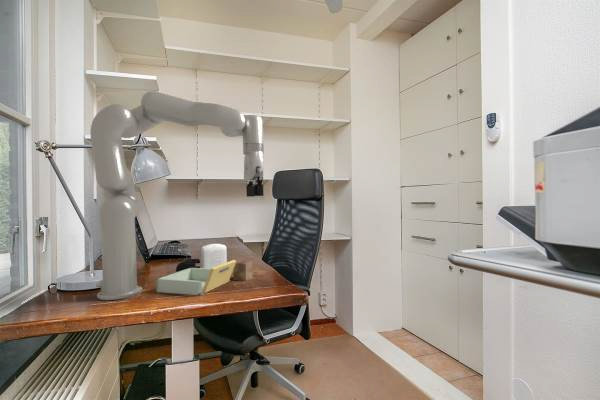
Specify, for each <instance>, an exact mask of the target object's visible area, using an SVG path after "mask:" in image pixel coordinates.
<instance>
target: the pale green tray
mask: <svg viewBox="0 0 600 400" xmlns="http://www.w3.org/2000/svg"><path fill="white" fill-rule="evenodd" d="M210 270H211V269H205V268H201V267H200V268H188V269H185V270H182V271H179V272H176V271H175V272H173V273H171V274H170V273H169V274H168V275H165V276H162V277H159V278H156V279H155V282H156V283H155V286H156V287H155V288H156V289H155V290H156V293H163V294H164V293H167V294H176V295H177V294H179V295H191V296H203V295H204V294H205V293H204V292H202V291H203V288H204V286H205V283H206V280H207V278H208V275H209V273H210ZM231 282H232V280H231V278H230V279H229V282H228V283H231Z"/></svg>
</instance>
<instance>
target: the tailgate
mask: <svg viewBox="0 0 600 400" xmlns="http://www.w3.org/2000/svg"><path fill="white" fill-rule="evenodd" d="M236 262H237V260H236V259H232V260H230V261H227V263H224V264H221V265H218V266H216V267H213V268H211V270H210V273H209V275H208V278H207V280H206V283H205V286H204V288H203V291H202V292H204V294H205V293H208V292H211V291H212V290H214V289H216V288H218V287H221V286H223V285H225V284H227V283H230V282H229V279H230V280H231V276H232V274H233V269H234V266H235V264H236Z"/></svg>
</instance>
